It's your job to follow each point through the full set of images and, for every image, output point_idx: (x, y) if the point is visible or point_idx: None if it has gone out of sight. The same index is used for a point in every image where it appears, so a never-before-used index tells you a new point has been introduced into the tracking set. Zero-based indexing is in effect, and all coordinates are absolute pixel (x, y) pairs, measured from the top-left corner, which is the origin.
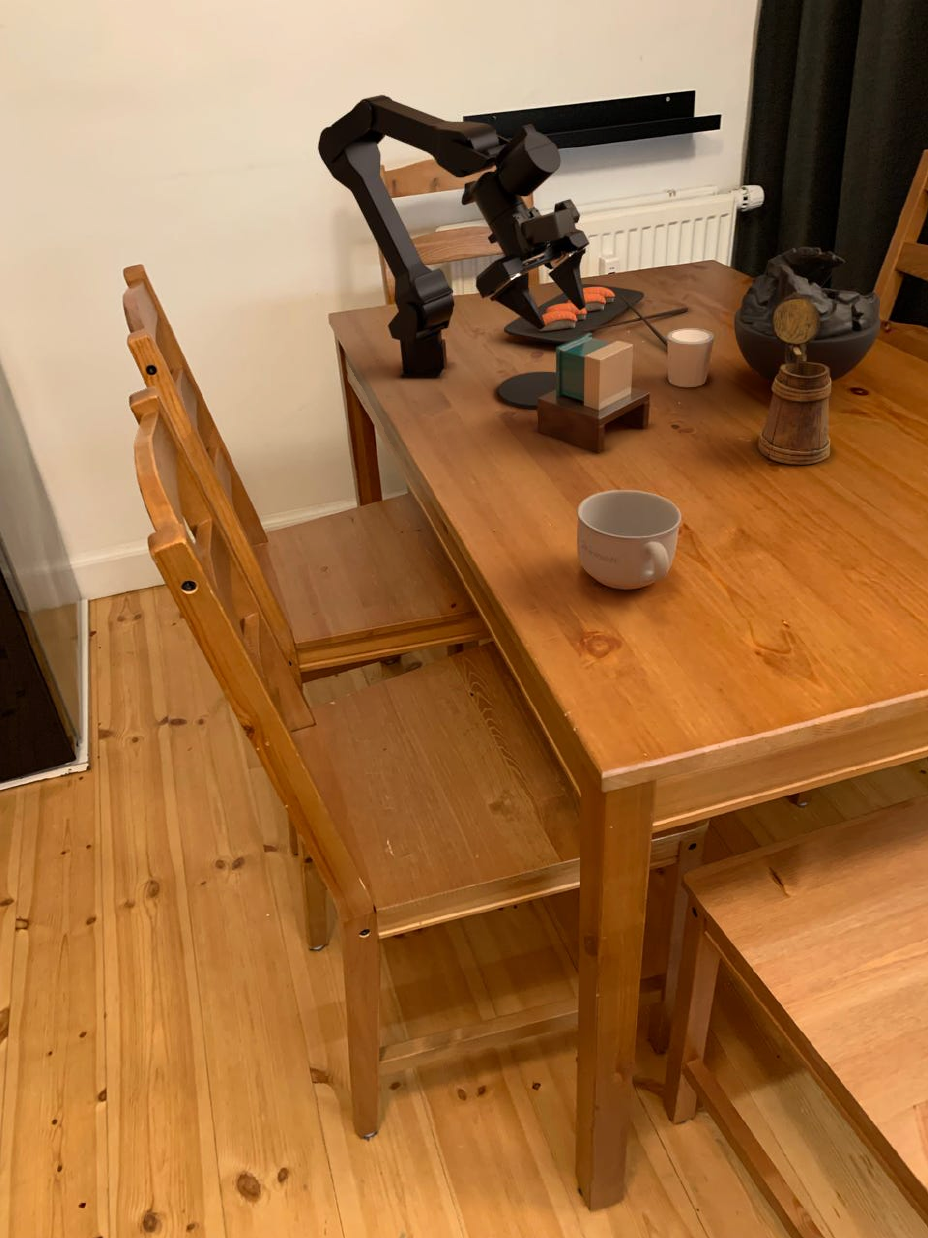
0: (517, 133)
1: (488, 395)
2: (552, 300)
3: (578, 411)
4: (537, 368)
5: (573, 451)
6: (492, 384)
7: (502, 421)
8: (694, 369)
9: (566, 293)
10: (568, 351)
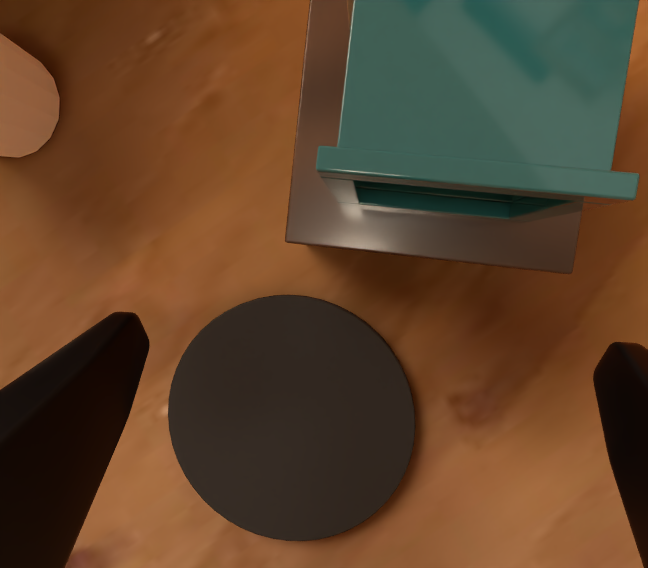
0: None
1: (389, 531)
2: None
3: None
4: (161, 512)
5: None
6: (320, 563)
7: (519, 396)
8: (1, 35)
9: (81, 506)
10: (603, 125)
